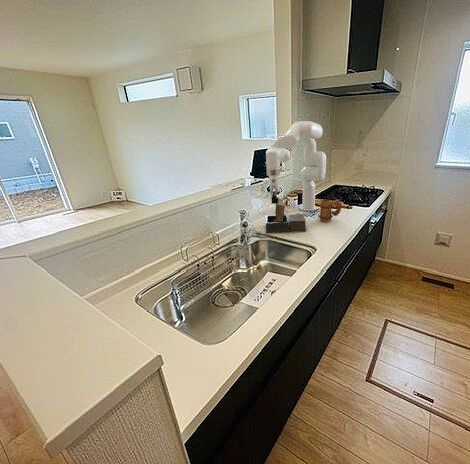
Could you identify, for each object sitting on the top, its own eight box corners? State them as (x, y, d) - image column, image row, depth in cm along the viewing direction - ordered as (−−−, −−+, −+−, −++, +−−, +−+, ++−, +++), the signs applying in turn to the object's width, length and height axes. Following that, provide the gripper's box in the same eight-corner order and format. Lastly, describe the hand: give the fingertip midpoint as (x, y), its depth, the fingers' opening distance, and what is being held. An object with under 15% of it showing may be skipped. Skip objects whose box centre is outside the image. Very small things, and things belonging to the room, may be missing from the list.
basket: (266, 225, 164) (266, 215, 162) (287, 224, 165) (287, 214, 162) (266, 233, 152) (265, 223, 149) (288, 232, 152) (288, 222, 149)
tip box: (282, 214, 162) (271, 213, 161) (284, 194, 156) (273, 193, 156) (283, 221, 149) (271, 220, 149) (285, 200, 144) (273, 199, 144)
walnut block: (279, 218, 161) (279, 224, 163) (273, 219, 161) (273, 224, 163) (279, 221, 157) (279, 227, 159) (273, 221, 157) (273, 227, 159)
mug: (317, 222, 166) (318, 200, 160) (318, 218, 173) (319, 197, 167) (340, 224, 162) (341, 201, 156) (340, 219, 170) (342, 198, 164)
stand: (288, 224, 164) (288, 214, 161) (303, 224, 164) (303, 214, 161) (289, 231, 153) (289, 221, 150) (305, 231, 153) (305, 220, 150)
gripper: (280, 175, 136) (281, 205, 143) (279, 169, 152) (280, 197, 159) (266, 175, 136) (267, 205, 143) (267, 170, 152) (268, 197, 159)
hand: (274, 201), depth 151 cm, fingers open, 9 cm apart
